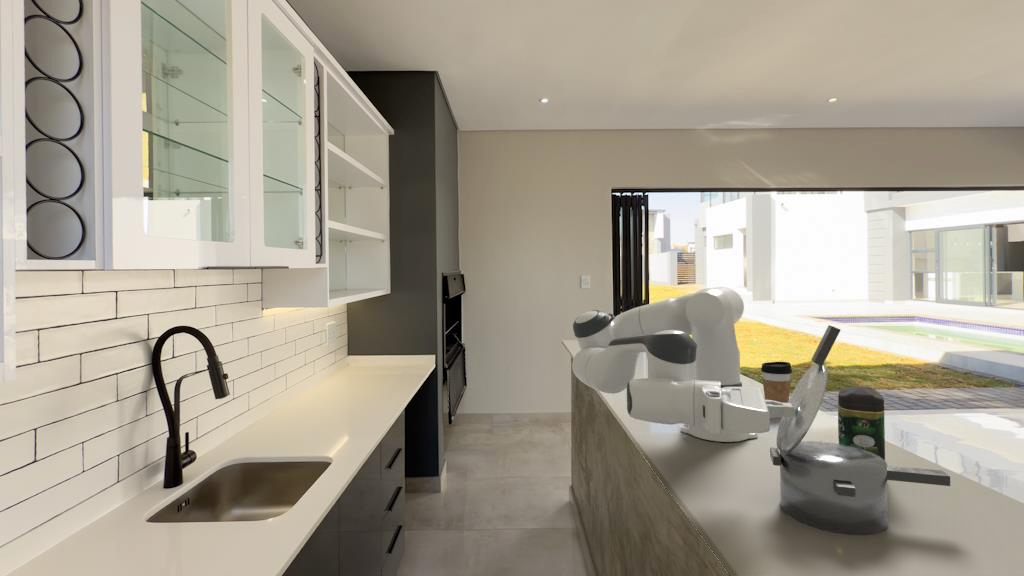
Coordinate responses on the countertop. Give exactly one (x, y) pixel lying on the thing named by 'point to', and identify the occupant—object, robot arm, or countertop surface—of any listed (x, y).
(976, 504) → the countertop surface
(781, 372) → the coffee cup
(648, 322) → the robot arm
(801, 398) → the lid
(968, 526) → the countertop surface
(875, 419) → the coffee jar
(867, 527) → the pot
